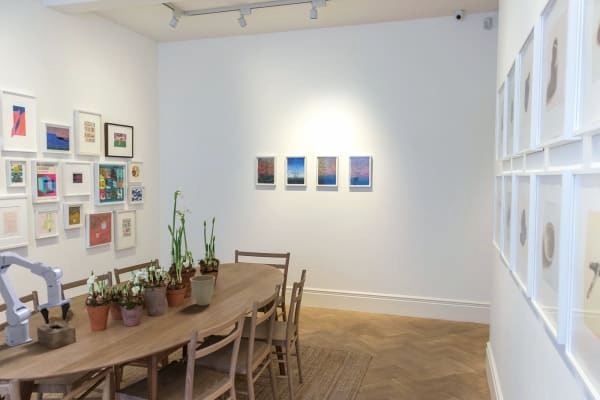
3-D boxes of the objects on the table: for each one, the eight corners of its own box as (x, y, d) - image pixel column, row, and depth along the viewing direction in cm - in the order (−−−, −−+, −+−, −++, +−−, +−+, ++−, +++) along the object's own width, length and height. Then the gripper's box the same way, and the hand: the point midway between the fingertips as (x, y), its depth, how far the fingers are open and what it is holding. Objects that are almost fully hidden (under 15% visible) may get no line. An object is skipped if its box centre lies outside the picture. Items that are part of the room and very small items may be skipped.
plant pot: (186, 306, 263) (185, 280, 262) (197, 299, 278) (197, 274, 277) (209, 308, 260) (208, 281, 259) (219, 300, 274) (219, 275, 273)
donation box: (51, 348, 202) (50, 334, 201) (37, 341, 212) (37, 326, 212) (75, 341, 210) (75, 327, 210) (61, 334, 221) (61, 320, 220)
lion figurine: (76, 323, 237) (75, 306, 237) (76, 326, 232) (75, 309, 232) (44, 328, 230) (43, 311, 229) (44, 331, 225) (43, 314, 225)
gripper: (41, 298, 202) (42, 327, 202) (73, 291, 213) (75, 319, 214) (35, 295, 206) (36, 324, 207) (67, 289, 217) (68, 316, 218)
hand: (55, 321), depth 211 cm, fingers open, 7 cm apart
